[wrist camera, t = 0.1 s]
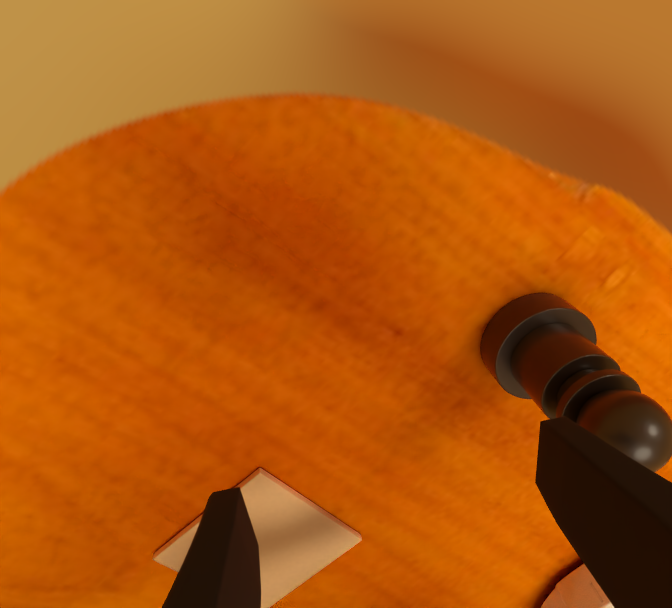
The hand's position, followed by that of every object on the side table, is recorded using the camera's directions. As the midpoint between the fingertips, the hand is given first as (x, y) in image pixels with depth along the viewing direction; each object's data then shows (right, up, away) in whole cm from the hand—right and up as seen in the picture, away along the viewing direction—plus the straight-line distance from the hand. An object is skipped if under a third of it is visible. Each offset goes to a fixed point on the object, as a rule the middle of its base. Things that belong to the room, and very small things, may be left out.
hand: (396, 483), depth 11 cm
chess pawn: (+8, +3, +11) cm, 14 cm away
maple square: (-6, -9, +15) cm, 18 cm away
